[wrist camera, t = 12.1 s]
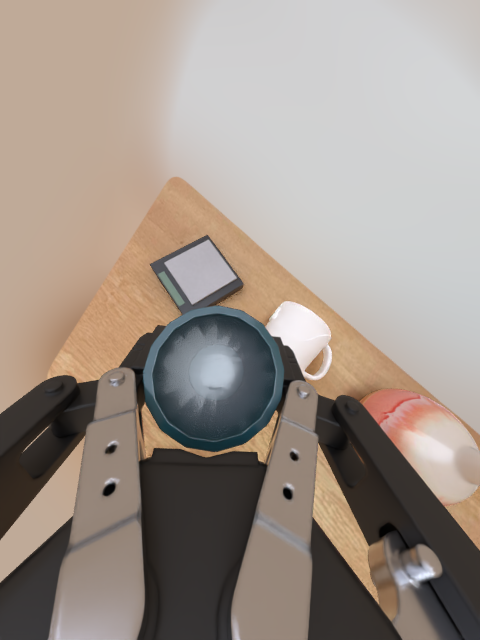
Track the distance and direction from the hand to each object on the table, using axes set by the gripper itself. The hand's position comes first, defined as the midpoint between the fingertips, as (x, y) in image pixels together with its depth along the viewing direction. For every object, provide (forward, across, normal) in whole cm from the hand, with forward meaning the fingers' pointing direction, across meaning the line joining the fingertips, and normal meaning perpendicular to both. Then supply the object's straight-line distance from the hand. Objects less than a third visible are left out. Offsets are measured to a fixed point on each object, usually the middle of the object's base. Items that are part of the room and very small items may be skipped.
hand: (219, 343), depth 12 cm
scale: (+26, +5, +5) cm, 27 cm away
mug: (+18, -12, +14) cm, 25 cm away
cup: (+4, 0, +6) cm, 8 cm away
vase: (+9, -27, +22) cm, 36 cm away
